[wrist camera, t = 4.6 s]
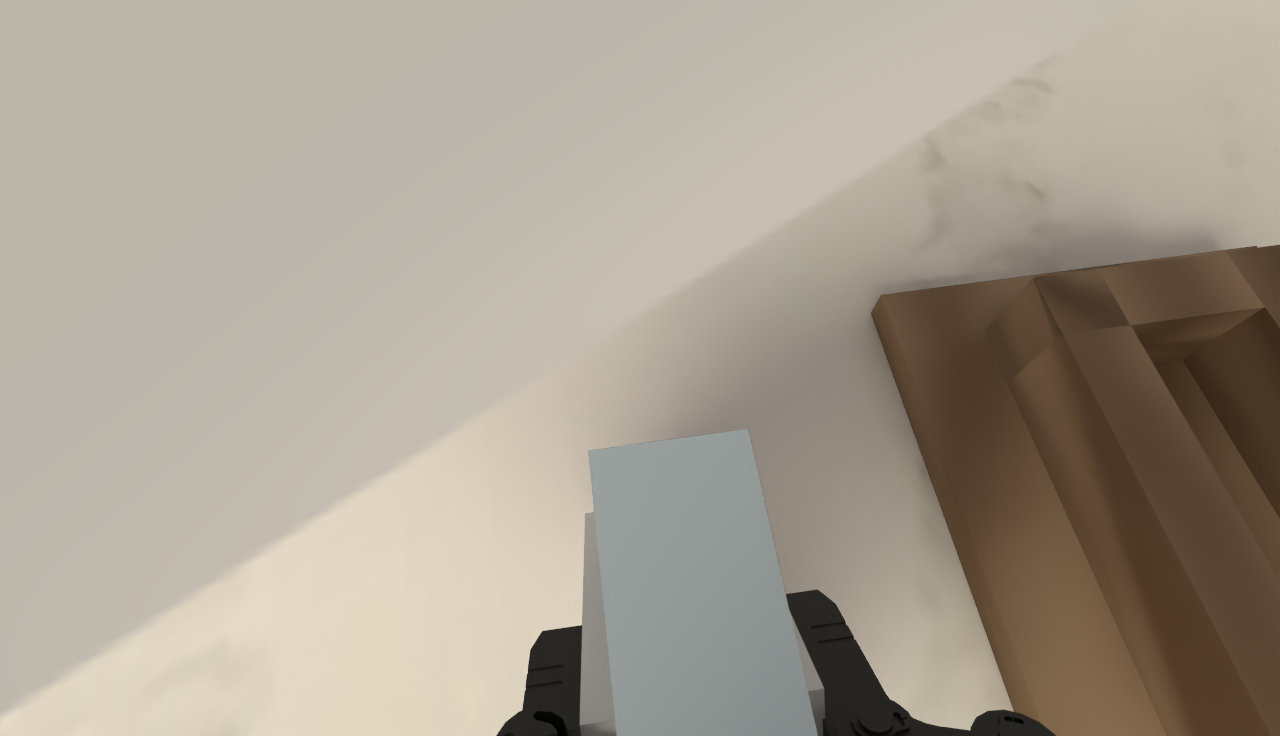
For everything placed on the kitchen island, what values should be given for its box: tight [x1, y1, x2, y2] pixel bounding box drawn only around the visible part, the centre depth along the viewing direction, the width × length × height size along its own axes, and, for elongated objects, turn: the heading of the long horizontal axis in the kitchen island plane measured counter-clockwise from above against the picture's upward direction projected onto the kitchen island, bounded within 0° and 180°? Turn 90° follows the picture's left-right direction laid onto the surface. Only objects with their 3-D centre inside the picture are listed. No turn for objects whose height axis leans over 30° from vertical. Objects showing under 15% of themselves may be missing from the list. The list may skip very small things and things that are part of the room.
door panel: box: [589, 429, 818, 736], centre depth 13 cm, size 2×8×11 cm, turn 8°
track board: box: [871, 245, 1280, 736], centre depth 17 cm, size 14×20×4 cm
